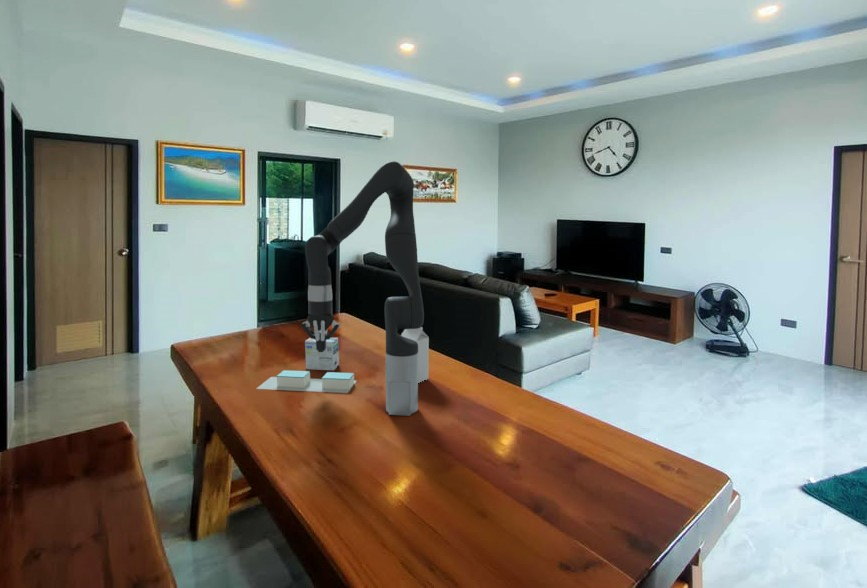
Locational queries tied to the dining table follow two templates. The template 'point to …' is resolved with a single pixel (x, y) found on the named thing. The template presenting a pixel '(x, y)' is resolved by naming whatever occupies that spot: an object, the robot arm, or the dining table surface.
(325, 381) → the block
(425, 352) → the milk carton
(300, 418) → the dining table surface
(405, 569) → the dining table surface
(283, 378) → the tile
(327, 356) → the light bulb box
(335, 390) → the runner
